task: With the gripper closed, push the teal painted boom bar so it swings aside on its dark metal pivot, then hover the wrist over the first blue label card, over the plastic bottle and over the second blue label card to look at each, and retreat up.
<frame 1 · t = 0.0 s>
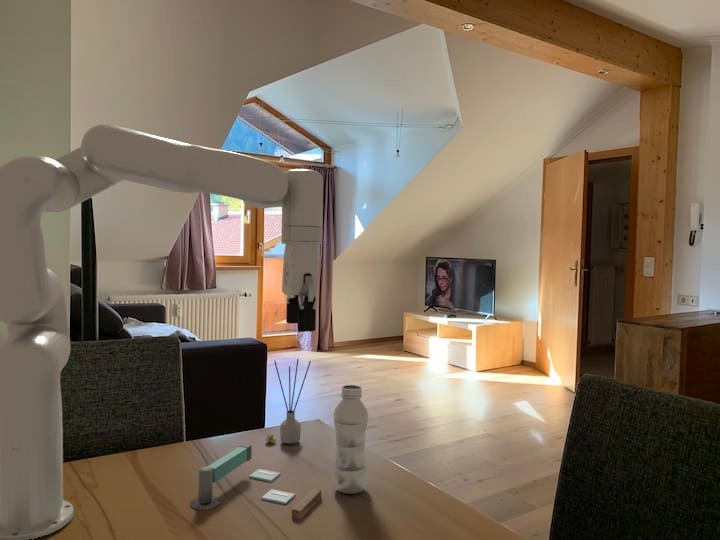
hand: (300, 326, 104), 31 cm above the table, tool pointing down, fingers open, 9 cm apart
label cards: (278, 497, 101), on the table
plastic bottle: (349, 491, 105), on the table
boom bar: (225, 471, 104), point 3 cm above the table, hinge at 0.0°
sill: (307, 507, 98), on the table
pivot plate: (205, 503, 98), on the table
reed diffuser: (287, 445, 127), on the table
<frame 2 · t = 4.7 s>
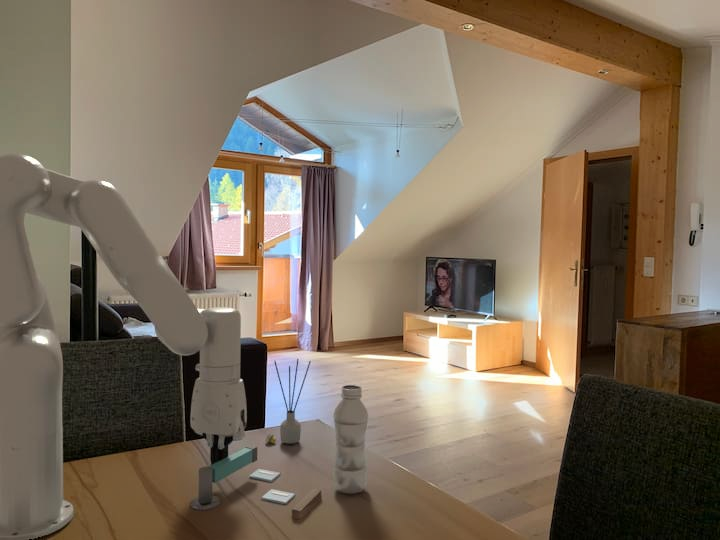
hand: (219, 466, 106), 4 cm above the table, tool pointing down, fingers closed
boom bar: (228, 472, 104), point 3 cm above the table, hinge at 6.3°, touching gripper
everything else where it was.
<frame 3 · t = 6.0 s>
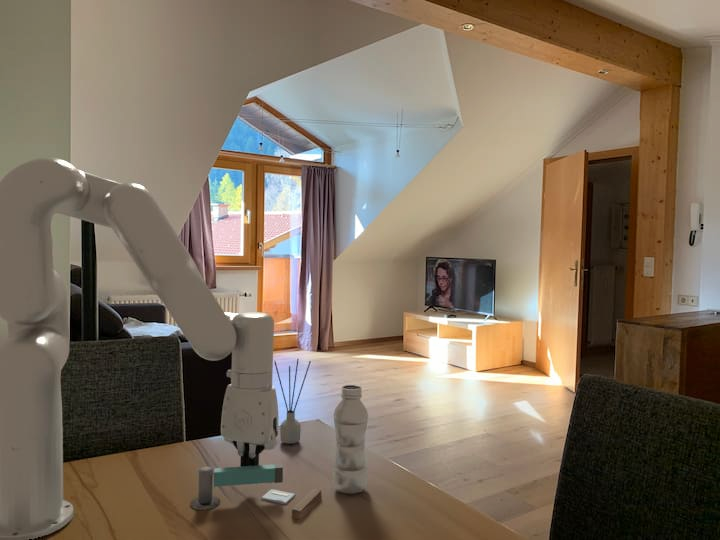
hand: (249, 475, 103), 3 cm above the table, tool pointing down, fingers closed
boom bar: (241, 482, 100), point 3 cm above the table, hinge at 56.7°, touching gripper
everything else where it was.
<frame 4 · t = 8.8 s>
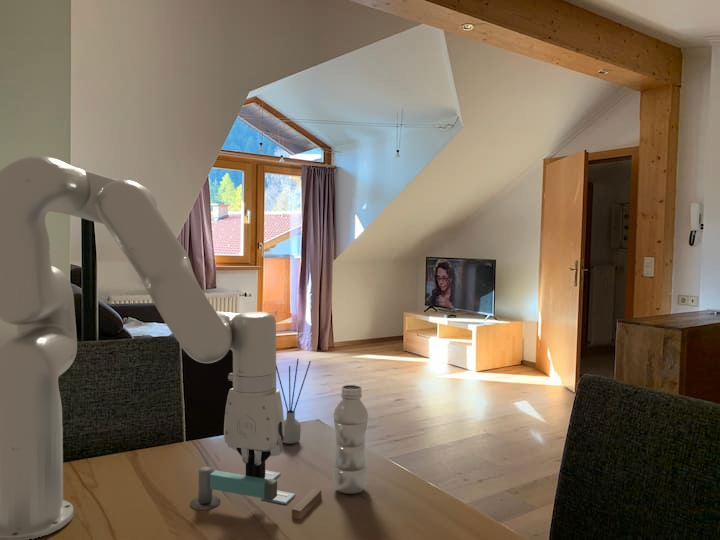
hand: (255, 483, 98), 4 cm above the table, tool pointing down, fingers closed
boom bar: (236, 490, 96), point 3 cm above the table, hinge at 87.2°, touching gripper
everything else where it was.
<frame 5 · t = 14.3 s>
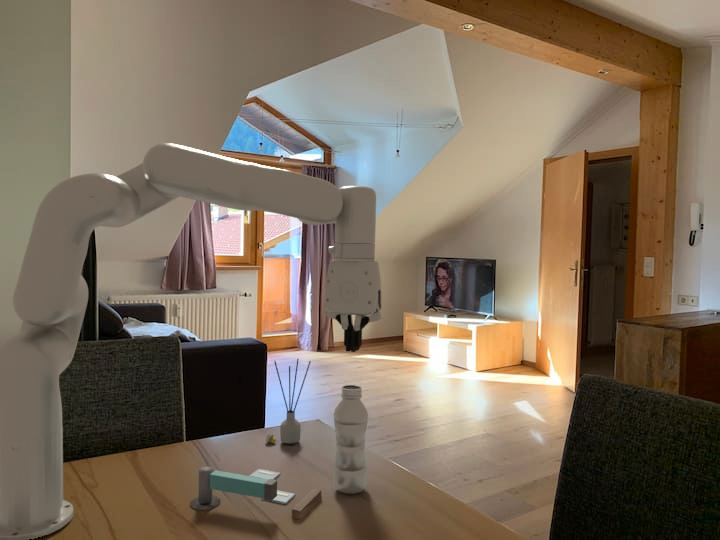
hand: (352, 350, 103), 27 cm above the table, tool pointing down, fingers closed
boom bar: (236, 490, 96), point 3 cm above the table, hinge at 87.2°
everything else where it was.
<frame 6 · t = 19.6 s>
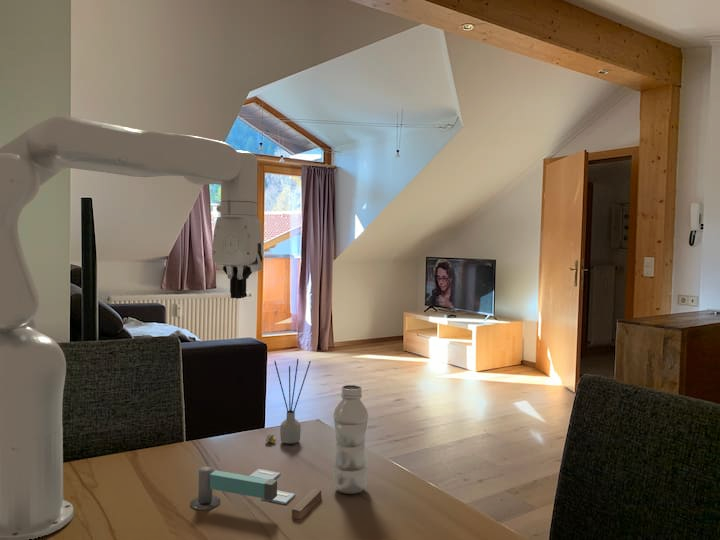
hand: (238, 297, 116), 35 cm above the table, tool pointing down, fingers closed
nothing on the table moved.
at the end: boom bar at +87° (first picture: +0°); plastic bottle moved 0.2 cm from its start; plastic bottle tilted 0° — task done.
